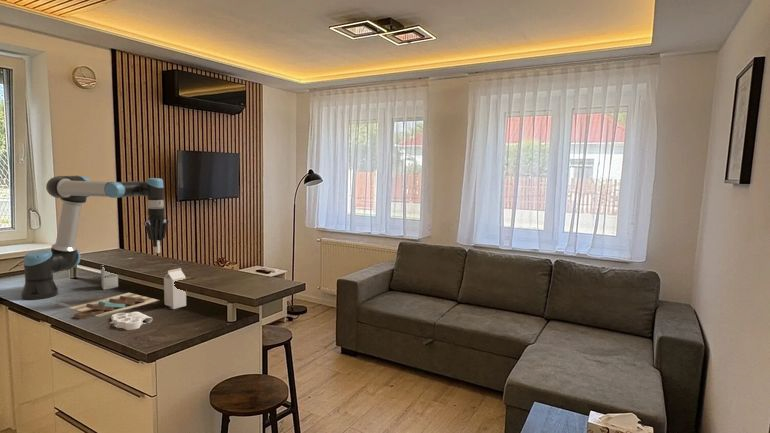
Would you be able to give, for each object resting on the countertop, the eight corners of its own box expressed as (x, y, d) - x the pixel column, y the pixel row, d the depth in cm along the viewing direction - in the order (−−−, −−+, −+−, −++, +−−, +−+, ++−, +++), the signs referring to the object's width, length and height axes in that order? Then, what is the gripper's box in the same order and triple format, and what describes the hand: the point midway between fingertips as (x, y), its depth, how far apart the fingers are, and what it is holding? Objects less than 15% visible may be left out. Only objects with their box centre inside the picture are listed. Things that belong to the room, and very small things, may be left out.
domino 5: (144, 302, 222) (125, 300, 213) (138, 300, 224) (119, 299, 215) (145, 299, 222) (126, 297, 213) (138, 297, 224) (120, 295, 215)
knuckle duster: (156, 324, 196) (121, 333, 184) (137, 315, 207) (102, 324, 195) (156, 317, 196) (120, 326, 184) (136, 308, 206) (102, 316, 195)
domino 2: (113, 310, 208) (92, 309, 199) (107, 308, 210) (85, 307, 202) (114, 307, 208) (93, 305, 200) (108, 305, 211) (86, 303, 202)
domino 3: (124, 307, 213) (104, 306, 204) (118, 305, 215) (98, 304, 206) (125, 304, 213) (105, 302, 204) (119, 302, 215) (98, 301, 207)
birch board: (67, 309, 211) (67, 307, 211) (128, 294, 237) (128, 292, 237) (99, 319, 199) (99, 317, 199) (160, 302, 226) (159, 300, 225)
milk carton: (186, 305, 221) (185, 269, 219) (173, 309, 215) (172, 271, 213) (177, 303, 225) (176, 267, 223) (164, 307, 219) (163, 269, 217)
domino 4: (134, 304, 217) (115, 303, 208) (128, 303, 219) (108, 301, 211) (135, 301, 217) (116, 300, 209) (129, 299, 220) (109, 298, 211)
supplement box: (103, 290, 245) (102, 267, 244) (101, 287, 251) (100, 265, 249) (118, 288, 250) (117, 266, 248) (116, 285, 255) (115, 263, 254)
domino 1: (103, 313, 204) (80, 319, 195) (97, 311, 206) (74, 317, 198) (103, 309, 204) (80, 315, 195) (97, 308, 206) (74, 313, 197)
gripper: (148, 209, 221) (150, 255, 223) (171, 207, 232) (173, 251, 235) (139, 208, 224) (141, 253, 227) (162, 206, 236) (163, 249, 238)
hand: (157, 252), depth 231 cm, fingers closed
